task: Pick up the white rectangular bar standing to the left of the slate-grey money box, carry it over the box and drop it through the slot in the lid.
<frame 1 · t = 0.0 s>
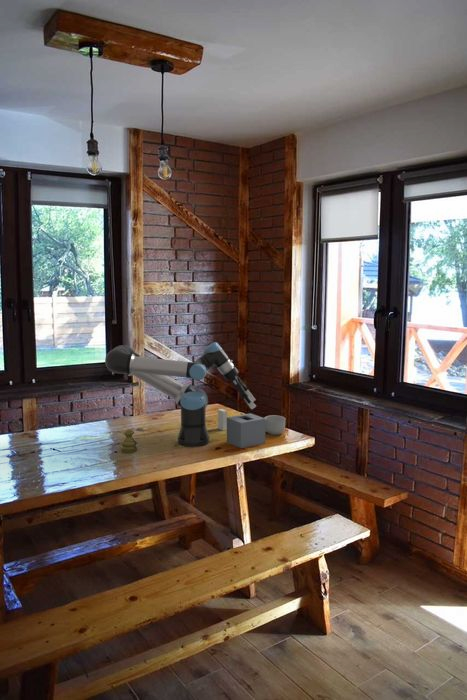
hand: (253, 404, 288), 15 cm above the table, tool tilted 35°, fingers open, 13 cm apart
white rectangular bar: (222, 429, 299), on the table
olive chess piece: (129, 451, 264), on the table
money box: (245, 442, 277), on the table
teacup: (271, 433, 292), on the table
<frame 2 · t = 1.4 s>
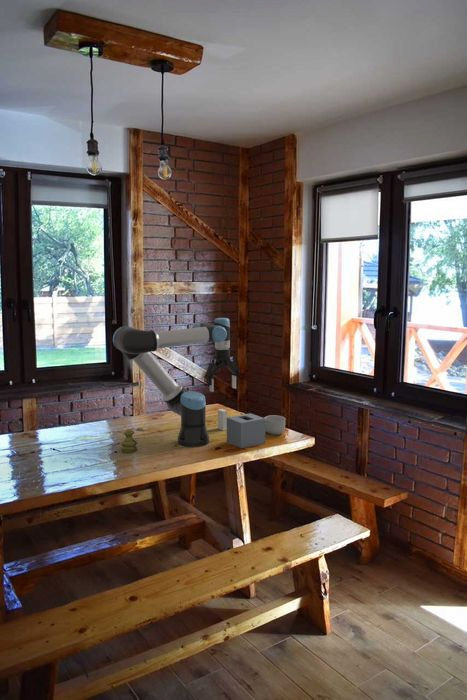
hand: (223, 389, 296), 21 cm above the table, tool pointing down, fingers open, 13 cm apart
nothing on the table moved.
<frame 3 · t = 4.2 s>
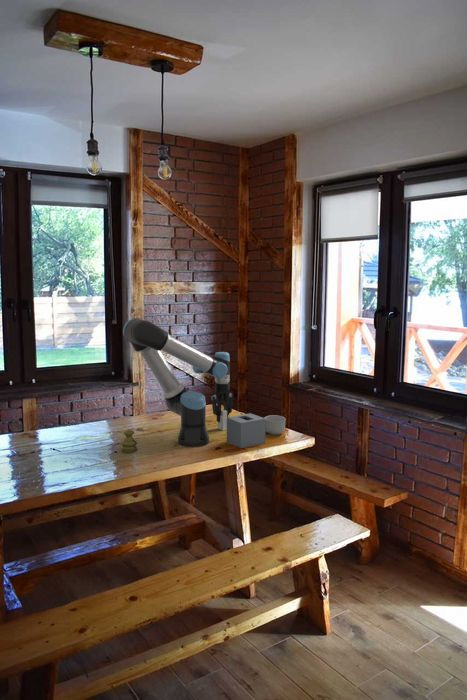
hand: (222, 427, 299), 1 cm above the table, tool pointing down, fingers closed on white rectangular bar, 2 cm apart
white rectangular bar: (222, 429, 299), on the table, touching gripper
everything else where it was.
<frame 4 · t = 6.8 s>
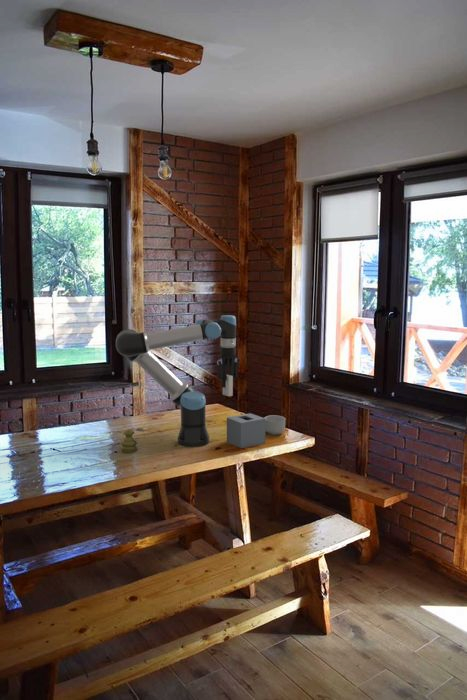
hand: (227, 393, 290), 20 cm above the table, tool pointing down, fingers closed on white rectangular bar, 2 cm apart
white rectangular bar: (227, 395, 291), point 19 cm above the table, touching gripper
everything else where it was.
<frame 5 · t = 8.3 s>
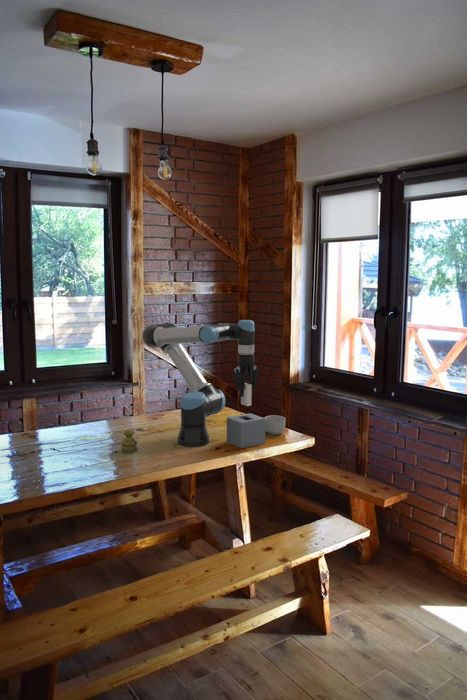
hand: (246, 402, 274), 19 cm above the table, tool pointing down, fingers closed on white rectangular bar, 2 cm apart
white rectangular bar: (246, 404, 274), point 18 cm above the table, touching gripper
everything else where it was.
when the fingers open (15 cm above the table, at t = 9.4 s): white rectangular bar drops 12 cm, resting on money box.
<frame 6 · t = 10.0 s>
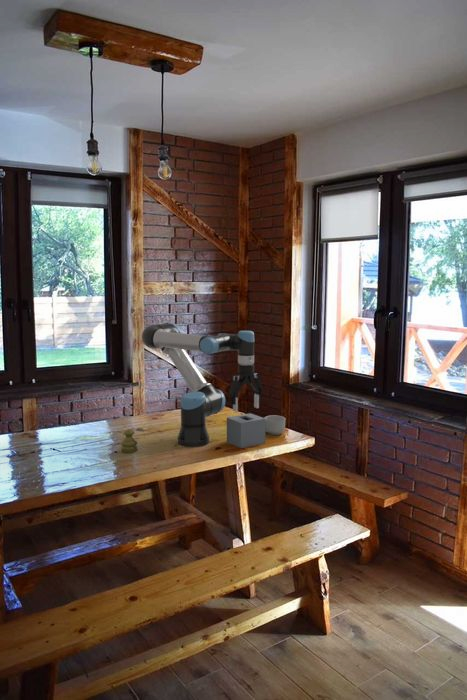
hand: (246, 409, 274), 16 cm above the table, tool pointing down, fingers open, 11 cm apart
white rectangular bar: (245, 440, 276), point 1 cm above the table, tilted 10°, touching money box
everything else where it was.
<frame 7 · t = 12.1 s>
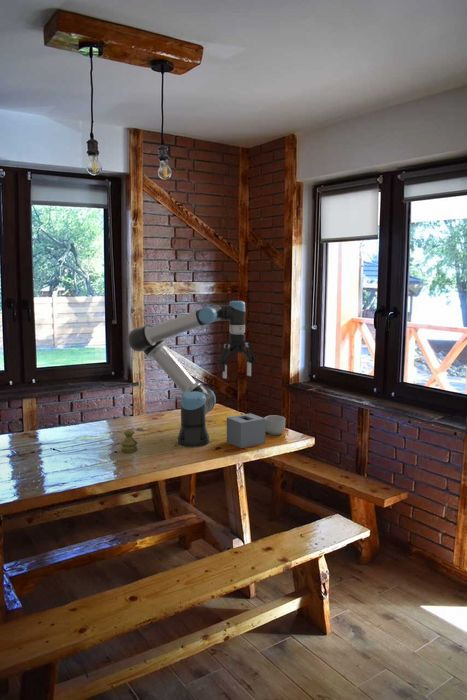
hand: (237, 377, 281), 30 cm above the table, tool pointing down, fingers open, 13 cm apart
nothing on the table moved.
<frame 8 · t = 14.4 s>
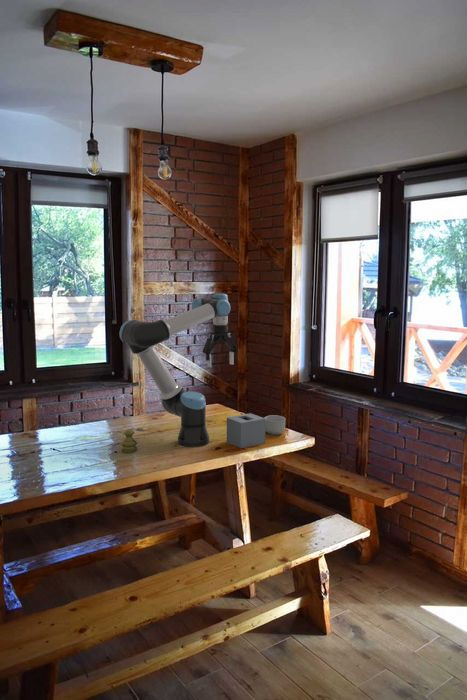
hand: (220, 365, 298), 33 cm above the table, tool pointing down, fingers open, 13 cm apart
nothing on the table moved.
at the end: white rectangular bar 0.1 cm from the money box (horizontally); white rectangular bar point 1.2 cm above the table; the gripper is holding nothing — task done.
